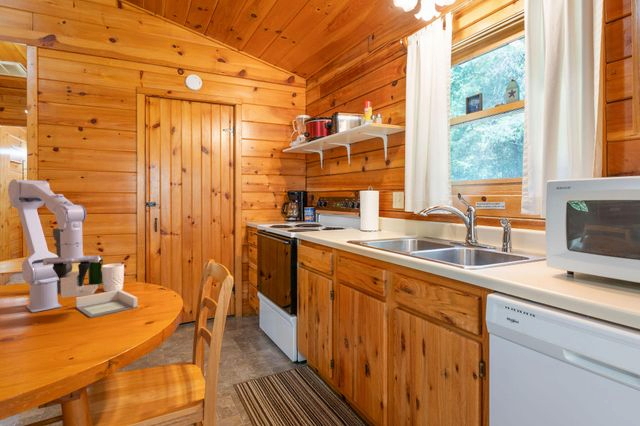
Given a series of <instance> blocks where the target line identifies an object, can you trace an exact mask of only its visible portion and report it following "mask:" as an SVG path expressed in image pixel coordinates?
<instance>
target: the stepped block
mask: <svg viewBox="0 0 640 426" xmlns="http://www.w3.org/2000/svg"><path fill="white" fill-rule="evenodd" d="M60 279H61V293H60V298H73V297H83V296H88V295H94V294H95V292H96V291H97V290H98V288H99V286H98V284H97V285H89V284H86V285H84V284H83V286H79V270H78V271H71V272H68V273H67V274H65V275H64V276H63V277H61V278H60Z"/></svg>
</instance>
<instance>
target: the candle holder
mask: <svg viewBox="0 0 640 426" xmlns="http://www.w3.org/2000/svg"><path fill="white" fill-rule="evenodd" d="M52 237H53V239H54V241H55V243H54V244H53V246H54V247H55V249H56V250H55V251H56V255H58V257H61V246H60V229H58V227H55V228H52ZM64 262H65V261H64ZM69 262H72V261H69ZM72 264H73V263H70V264H67V265H66V274H67V273H68V272H72V270H73V265H72ZM57 294H61V282H60V280H57Z"/></svg>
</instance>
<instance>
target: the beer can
mask: <svg viewBox="0 0 640 426" xmlns="http://www.w3.org/2000/svg"><path fill="white" fill-rule="evenodd" d="M98 256H99V262H90V263H91V264H90V266H89V268H88V270H87V274H88V277H87V279H88V285H97V284H98V287H99V286H103V279H102V266H103V265H104V257H103V256H102V255H98Z"/></svg>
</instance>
